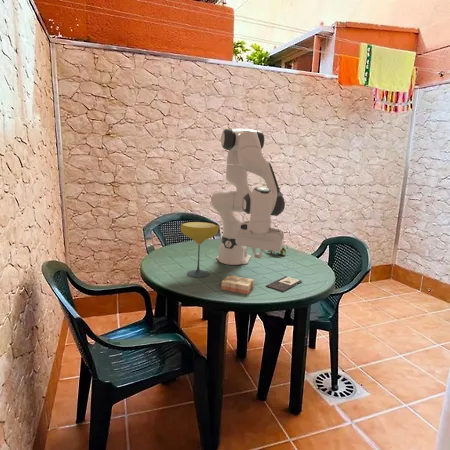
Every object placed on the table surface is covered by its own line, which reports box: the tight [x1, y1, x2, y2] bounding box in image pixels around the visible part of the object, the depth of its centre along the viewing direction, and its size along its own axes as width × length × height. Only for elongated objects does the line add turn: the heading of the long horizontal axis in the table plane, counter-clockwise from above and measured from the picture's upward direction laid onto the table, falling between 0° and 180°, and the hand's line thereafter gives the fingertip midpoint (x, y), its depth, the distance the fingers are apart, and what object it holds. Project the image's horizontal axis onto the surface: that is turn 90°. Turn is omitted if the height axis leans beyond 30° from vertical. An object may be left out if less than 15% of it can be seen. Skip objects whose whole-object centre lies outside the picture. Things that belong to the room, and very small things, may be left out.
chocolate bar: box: [265, 275, 302, 293], centre depth 160 cm, size 9×1×18 cm
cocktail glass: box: [180, 219, 220, 279], centre depth 166 cm, size 18×18×25 cm
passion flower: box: [267, 244, 289, 256], centre depth 210 cm, size 11×11×12 cm
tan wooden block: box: [221, 274, 255, 295], centre depth 152 cm, size 9×4×12 cm
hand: (257, 257), depth 147 cm, fingers closed
